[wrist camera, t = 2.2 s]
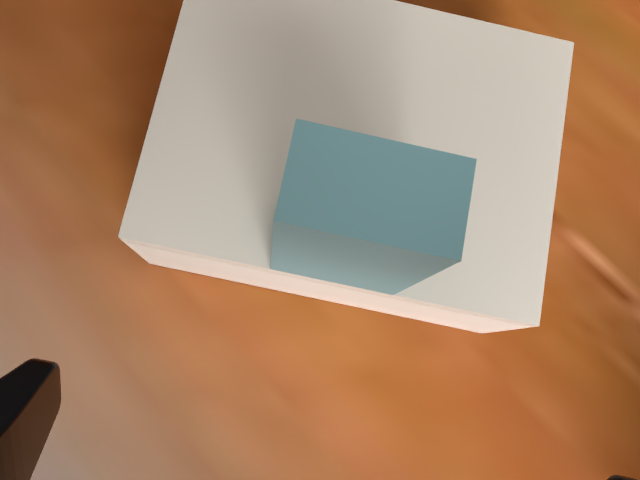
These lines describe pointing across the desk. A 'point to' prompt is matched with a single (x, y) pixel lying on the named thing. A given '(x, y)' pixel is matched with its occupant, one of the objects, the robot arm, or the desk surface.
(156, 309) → the desk surface
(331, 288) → the carton
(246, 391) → the desk surface
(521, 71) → the flap
